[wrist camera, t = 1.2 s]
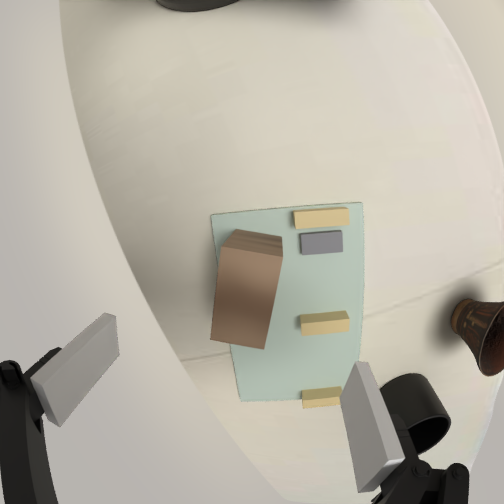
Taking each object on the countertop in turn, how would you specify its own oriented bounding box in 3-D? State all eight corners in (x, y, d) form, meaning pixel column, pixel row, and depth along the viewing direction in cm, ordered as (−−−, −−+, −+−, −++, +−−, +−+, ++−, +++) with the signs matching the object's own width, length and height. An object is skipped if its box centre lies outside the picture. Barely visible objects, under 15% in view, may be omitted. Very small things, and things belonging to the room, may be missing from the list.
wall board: (213, 214, 28) (205, 218, 25) (360, 202, 27) (369, 204, 24) (241, 396, 34) (238, 411, 31) (353, 388, 32) (357, 403, 29)
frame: (234, 228, 27) (219, 246, 20) (281, 236, 27) (283, 257, 20) (224, 302, 30) (208, 339, 22) (267, 310, 29) (264, 349, 22)
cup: (490, 267, 26) (537, 293, 17) (484, 324, 28) (522, 358, 19) (442, 284, 28) (488, 320, 18) (438, 344, 30) (473, 387, 20)
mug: (370, 433, 35) (381, 475, 26) (370, 384, 32) (387, 432, 23) (422, 415, 33) (440, 453, 24) (430, 363, 31) (457, 404, 22)
